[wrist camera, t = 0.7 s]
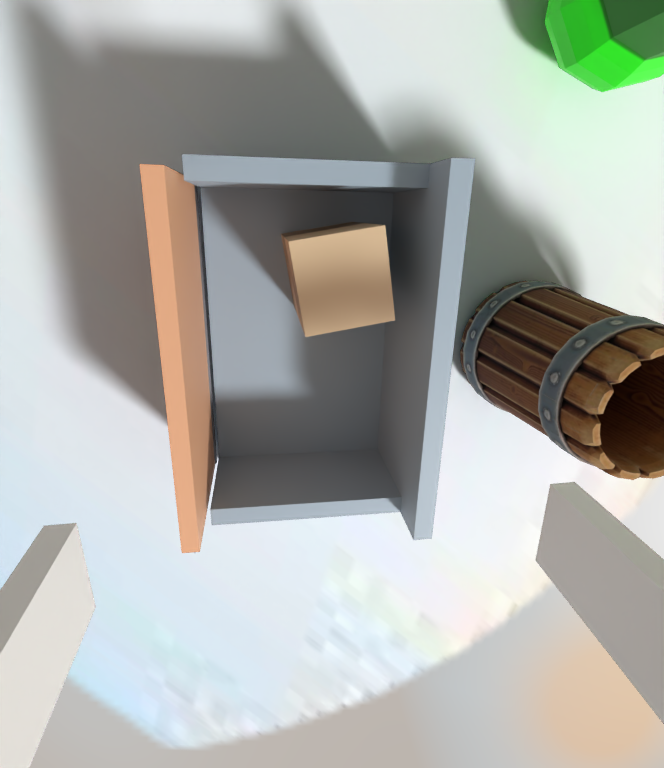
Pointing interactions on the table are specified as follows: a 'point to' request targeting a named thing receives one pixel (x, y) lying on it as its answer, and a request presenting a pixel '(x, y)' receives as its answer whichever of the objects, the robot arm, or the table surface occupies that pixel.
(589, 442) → the mug
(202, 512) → the panel
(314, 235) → the wooden block
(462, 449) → the table surface
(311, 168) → the box
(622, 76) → the plastic bottle
